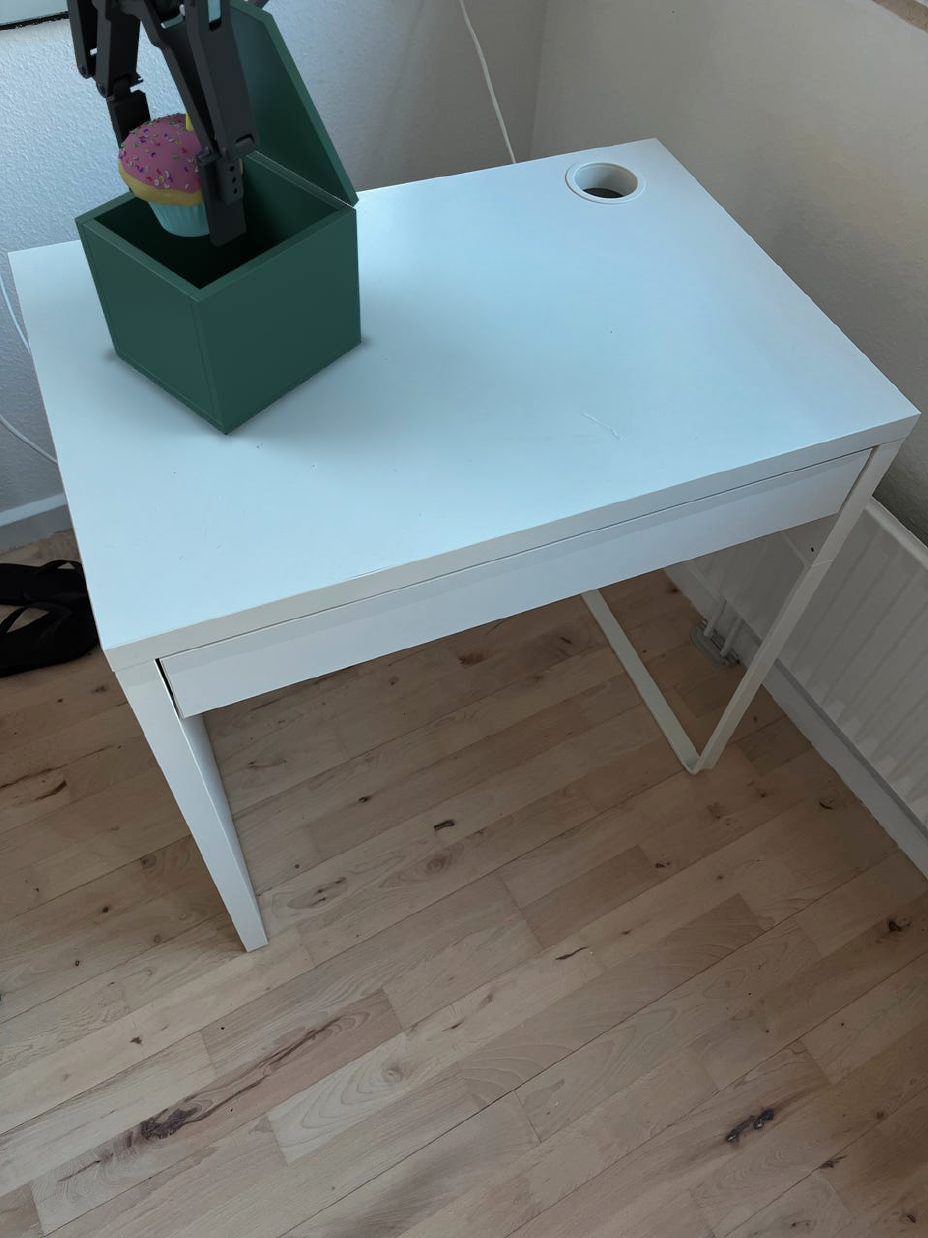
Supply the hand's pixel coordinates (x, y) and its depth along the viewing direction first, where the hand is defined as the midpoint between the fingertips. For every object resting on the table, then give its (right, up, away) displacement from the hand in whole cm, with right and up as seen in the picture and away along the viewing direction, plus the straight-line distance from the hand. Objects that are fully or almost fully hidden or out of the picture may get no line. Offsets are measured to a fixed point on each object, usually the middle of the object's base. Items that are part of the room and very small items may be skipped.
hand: (187, 210), depth 69 cm
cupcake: (0, 0, +1) cm, 1 cm away
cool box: (+1, -6, +13) cm, 15 cm away
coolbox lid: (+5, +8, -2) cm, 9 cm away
